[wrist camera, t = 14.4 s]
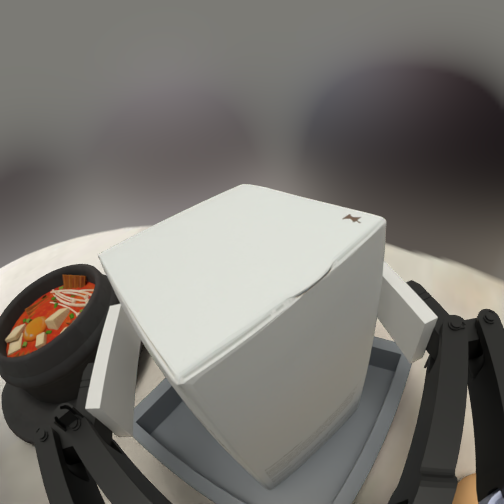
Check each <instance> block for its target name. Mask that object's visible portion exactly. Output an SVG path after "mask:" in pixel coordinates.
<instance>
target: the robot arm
mask: <svg viewBox="0 0 504 504" xmlns="http://www.w3.org/2000/svg"><path fill="white" fill-rule="evenodd" d="M377 318H378V319H379V320H380V322H381V323H382V325H383V326H384V327H385V329H386V330H387V331H388V333H389V334H390V336H391V337H392V338H393V340H394V341H395V343H396V344H397V345H398V347H399V348H400V350H401V351H402V353H403V354H404V355H405V357H406V358H407V360H408V361H409V363H410V364H411V363H413V362H415V361H417V360H419V359H421V358H423V355H424V353H425V350H427V352H428V353H429V354H430V355H429V357H428V359H427V361H426V364H425V366H424V368H426V367H427V370H426V377H425V384H424V390H423V395H422V400H421V406H420V410H419V415H418V419H417V424H416V428H415V432H414V436H413V440H412V443H411V447H410V450H409V454H408V457H407V460H406V464H405V467H404V470H403V473H402V476H401V478H400V481H399V484H398V486H397V488H396V490H395V491H394V493H393V494H392V496H391V498H390V500H389V503H388V504H452V502H453V499H454V496H455V492H456V489H457V483H458V482H457V478H456V476H455V468H456V464H457V459H458V455H459V450H460V444H461V438H462V432H463V425H464V418H465V409H466V398H467V384H468V389H469V395H470V402H471V409H472V417H473V426H474V437H475V453H476V492H477V500H478V504H504V328H503V326H502V323H501V321H500V318H499V316H498V315H497V314H496V313H495V312H494V311H492V310H490V309H483V310H481V311H480V312H479V314H478V316H477V318H474V319H468V320H464V319H463V318H461V317H460V316H457V315H449V314H448V313H447V312H446V311H445V310H444V309H443V308H442V306H441V305H440V304H439V303H438V302H437V301H436V300H435V299H434V298H433V297H431V295H430V294H429V293H428V292H427V291H426V290H425V289H424V288H423V287H422V286H421V285H420V284H418V283H416V282H414V281H412V280H411V281H409V282H405V281H404V280H403V279H402V278H401V277H400V276H399V275H398V274H397V273H396V272H395V271H394V270H393V269H392V268H391V267H390V266H389V265H388V264H387V263H386V262H385V261H384V263H383V275H382V284H381V292H380V300H379V307H378V314H377ZM140 343H141V339H140V338H139V336H138V334H137V333H136V331H135V329H134V327H133V326H132V324H131V322H130V320H129V318H128V317H127V315H126V313H125V311H124V309H123V307H122V306H121V304H117V305H112V306H110V307H109V311H108V314H107V317H106V321H105V324H104V328H103V331H102V335H101V339H100V343H99V347H98V350H97V354H96V359H95V363H88V365H87V367H86V368H85V370H84V371H83V375H82V382H81V384H80V388H79V393H78V398H77V403H76V408H75V407H74V406H72V405H71V404H70V403H62V404H60V405H59V406H58V407H57V408H56V409H55V411H54V413H53V423H54V424H56V425H57V426H58V427H57V428H54V429H53V428H51V427H50V426H49V425H47V424H43V425H40V426H39V427H38V428H37V429H36V431H35V434H34V442H35V448H36V453H37V458H38V462H39V467H40V471H41V475H42V479H43V483H44V486H45V490H46V493H47V496H48V500H49V503H50V504H105V502H104V500H103V498H102V496H101V494H100V491H99V489H98V487H97V485H98V486H99V487H100V489H101V490H102V491H103V493H104V494H105V495H106V497H107V498H108V499H109V501H110V502H111V503H112V504H172V503H171V502H170V501H169V500H168V499H167V498H166V497H165V496H164V495H162V494H161V493H160V492H159V491H158V490H157V489H156V488H155V486H154V485H153V484H152V483H151V482H150V481H149V480H148V479H147V478H146V477H145V476H144V475H143V474H142V473H141V472H140V470H139V469H138V468H137V467H136V466H135V465H134V464H133V462H132V461H131V460H130V459H129V458H128V457H127V455H126V454H125V453H124V452H123V450H122V449H121V448H120V447H119V445H118V444H117V443H116V442H115V441H114V440H113V439H112V432H113V433H114V434H116V435H117V436H118V437H133V417H134V401H135V389H136V378H137V368H138V359H139V350H140ZM96 483H97V484H96Z"/></svg>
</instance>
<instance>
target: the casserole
mask: <svg viewBox="0 0 504 504" xmlns="http://www.w3.org/2000/svg"><path fill="white" fill-rule="evenodd" d="M117 304H120V302H119V300H118V298H117V296H116V294H115V292H114V290H113V288H112V286H111V283H110V281H109V279H108V277H107V276H106V275H103V274H102V273H101V272H100V271H99V270H97V269H96V268H95V267H94V266H91V265H88V264H76V265H70V266H66V267H62V268H60V269H57V270H55V271H52V272H50V273H48V274H46V275H44V276H43V277H41V278H39V279H38V280H36V281H35V282H33V283H32V284H30V285H29V286H28V287H26V288H25V289H24V290H23V291H22V292H21V293H19V294H18V295H17V296H16V297H15V298H14V299H13V300H12V302H11V303H10V304H9V305H8V306H7V308H6V309H5V310H4V312H3V313H2V315H1V316H0V375H1V377H2V378H3V379H4V380H5V381H6V384H5V387H4V389H3V392H2V410H3V414H4V418H5V420H6V422H7V424H8V426H9V428H10V429H11V430H12V431H13V432H14V433H15V435H16V436H18V437H19V438H21V439H22V440H24V441H25V442H29V443H32V444H35V442H34V434H35V431H36V429H37V428H38V427H39V426H40V425H43V424H47V425H49V426H50V427H51V428H53V429H54V428H57V427H58V426H57V425H56V424H54V423H53V413H54V411H55V409H56V408H57V407H58V406H59V405H60V404H62V403H70V404H71V405H72V406H74V407H75V408H76V403H77V398H78V393H79V388H80V384H81V382H82V375H83V371H84V370H85V368H86V367H87V365H88V363H95V359H96V354H97V350H98V347H99V343H100V339H101V335H102V331H103V328H104V324H105V321H106V317H107V314H108V311H109V307H110V306H112V305H117ZM142 346H143V343H142V341H141V343H140V350H139V356H140V353H141V351H142Z"/></svg>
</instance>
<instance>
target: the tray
mask: <svg viewBox="0 0 504 504" xmlns="http://www.w3.org/2000/svg"><path fill="white" fill-rule="evenodd" d="M411 365H412V363H411V364H410V363H409V361H408V360H407V358H406V357H405V355H404V354H403V353H402V351H401V350H400V348H399V347H398V345H397V344H396V343H395V342H393V341H389V340H386V339H382V338H378V337H374V338H373V344H372V349H371V354H370V359H369V364H368V369H367V373H366V377H365V381H364V386H363V390H362V394H361V397H360V401H359V405H358V408H357V409H356V410H355V412H354V413H353V414H352V415H351V416H350V417H349V418H348V419H347V420H346V422H345V423H344V424H343V425H342V426H341V427H340V428H339V429H338V430H337V431H336V432H335V433H334V434H333V435H332V436H331V437H330V438H329V439H328V440H327V441H326V442H325V443H324V444H323V445H322V446H321V447H320V448H319V449H318V450H317V451H316V452H315V453H314V454H313V455H312V456H311V457H310V458H309V459H308V460H306V461H305V462H304V463H303V464H302V465H301V466H300V467H299V468H297V469H296V470H295V471H294V472H293V473H292V474H290V475H289V476H288V477H287V478H286V479H284V480H283V481H282V482H281V483H279V484H278V485H277V486H276V487H274V488H273V489H271V490H267V489H266V488H265V487H264V486H262V485H261V484H260V483H259V482H258V481H257V480H256V479H255V478H254V477H253V476H252V475H250V474H249V473H248V472H247V471H246V470H245V469H244V468H243V467H242V466H241V465H240V464H239V463H238V462H237V461H236V460H235V459H234V458H233V457H232V456H231V455H230V454H229V453H228V452H227V451H226V450H225V449H224V448H223V447H222V446H221V445H220V444H219V443H218V442H217V440H216V439H215V438H214V437H213V436H212V435H211V434H210V433H209V431H208V430H207V429H206V428H205V427H204V426H203V424H202V423H201V422H200V421H199V420H198V419H197V417H196V416H195V415H194V414H193V412H192V411H191V410H190V409H189V408H188V406H187V405H186V404H185V402H184V401H183V400H182V398H181V397H180V396H179V395H178V393H177V392H176V391H175V389H174V388H173V387H172V385H171V384H170V382H169V381H168V380H167V378H165V379H164V380H163V381H162V382H161V383H160V384H159V385H158V386H157V387H156V388H155V389H154V390H153V391H152V392H151V393H150V394H149V395H147V396H146V397H145V398H144V399H143V400H142V401H141V402H140V403H139V404H138V405H137V406H136V407H135V408H134V417H133V437H134V438H135V439H136V440H137V441H138V442H139V443H140V444H141V445H142V446H143V447H144V448H145V449H146V450H148V451H149V452H150V453H151V454H152V455H153V456H154V457H155V458H157V459H158V460H159V461H160V462H161V463H162V464H163V465H165V466H166V467H167V468H168V469H170V470H171V471H172V472H173V473H174V474H176V475H177V476H178V477H180V478H181V479H182V480H183V481H185V482H186V483H187V484H189V485H190V486H191V487H193V488H194V489H195V490H197V491H198V492H200V493H201V494H203V495H204V496H205V497H207V498H208V499H210V500H211V501H213V502H214V503H216V504H352V502H353V501H354V499H355V497H356V495H357V494H358V492H359V490H360V488H361V487H362V485H363V483H364V481H365V479H366V477H367V475H368V474H369V472H370V470H371V468H372V466H373V464H374V462H375V460H376V457H377V455H378V453H379V451H380V449H381V447H382V444H383V442H384V440H385V438H386V435H387V433H388V431H389V428H390V426H391V423H392V421H393V418H394V415H395V413H396V410H397V408H398V405H399V402H400V399H401V396H402V393H403V390H404V387H405V384H406V381H407V378H408V375H409V371H410V368H411Z"/></svg>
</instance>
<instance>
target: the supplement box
mask: <svg viewBox="0 0 504 504" xmlns="http://www.w3.org/2000/svg"><path fill="white" fill-rule="evenodd" d="M385 235H386V220H385V219H384V218H382V217H380V216H376V215H373V214H369V213H365V212H361V211H357V210H353V209H348V208H344V207H340V206H336V205H332V204H328V203H324V202H320V201H316V200H312V199H308V198H304V197H300V196H296V195H292V194H288V193H285V192H281V191H277V190H273V189H270V188H266V187H261V186H256V185H249V184H248V185H247V184H241V185H239V186H237V187H235V188H233V189H230V190H228V191H226V192H223V193H221V194H219V195H217V196H215V197H212V198H210V199H208V200H206V201H204V202H201V203H200V204H197V205H195V206H193V207H191V208H189V209H186V210H185V211H182V212H180V213H178V214H176V215H174V216H172V217H170V218H168V219H166V220H164V221H162V222H160V223H158V224H156V225H154V226H152V227H150V228H148V229H146V230H144V231H142V232H140V233H138V234H136V235H134V236H132V237H130V238H128V239H126V240H124V241H122V242H120V243H118V244H116V245H114V246H113V247H111V248H109V249H107V250H105V251H103V252H101V253H99V254H98V257H99V259H100V262H101V264H102V267H103V269H104V271H105V273H106V275H107V277H108V279H109V281H110V283H111V286H112V288H113V290H114V292H115V294H116V296H117V298H118V300H119V302H120V304H121V306H122V307H123V309H124V311H125V313H126V315H127V317H128V318H129V320H130V322H131V324H132V326H133V327H134V329H135V331H136V333H137V334H138V336H139V338H140V339H141V341H142V343H143V344H144V346H145V347H146V349H147V350H148V352H149V353H150V355H151V357H152V358H153V360H154V361H155V363H156V364H157V366H158V367H159V368H160V370H161V371H162V373H163V374H164V376H165V377H166V378H167V380H168V381H169V382H170V384H171V385H172V387H173V388H174V389H175V391H176V392H177V393H178V395H179V396H180V397H181V398H182V400H183V401H184V402H185V404H186V405H187V406H188V408H189V409H190V410H191V411H192V412H193V414H194V415H195V416H196V417H197V419H198V420H199V421H200V422H201V423H202V424H203V426H204V427H205V428H206V429H207V430H208V431H209V433H210V434H211V435H212V436H213V437H214V438H215V439H216V440H217V442H218V443H219V444H220V445H221V446H222V447H223V448H224V449H225V450H226V451H227V452H228V453H229V454H230V455H231V456H232V457H233V458H234V459H235V460H236V461H237V462H238V463H239V464H240V465H241V466H242V467H243V468H244V469H245V470H246V471H247V472H248V473H249V474H250V475H252V476H253V477H254V478H255V479H256V480H257V481H258V482H259V483H260V484H261V485H262V486H264V487H265V488H266V489H267V490H271V489H273V488H274V487H276V486H277V485H278V484H279V483H281V482H282V481H283V480H284V479H286V478H287V477H288V476H289V475H290V474H292V473H293V472H294V471H295V470H296V469H297V468H299V467H300V466H301V465H302V464H303V463H304V462H305V461H306V460H308V459H309V458H310V457H311V456H312V455H313V454H314V453H315V452H316V451H317V450H318V449H319V448H320V447H321V446H322V445H323V444H324V443H325V442H326V441H327V440H328V439H329V438H330V437H331V436H332V435H333V434H334V433H335V432H336V431H337V430H338V429H339V428H340V427H341V426H342V425H343V424H344V423H345V422H346V420H347V419H348V418H349V417H350V416H351V415H352V414H353V413H354V412H355V410H356V409H357V408H358V405H359V401H360V397H361V394H362V390H363V386H364V381H365V377H366V373H367V369H368V364H369V359H370V354H371V349H372V344H373V338H374V333H375V327H376V321H377V314H378V307H379V300H380V292H381V284H382V275H383V263H384V251H385Z"/></svg>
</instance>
